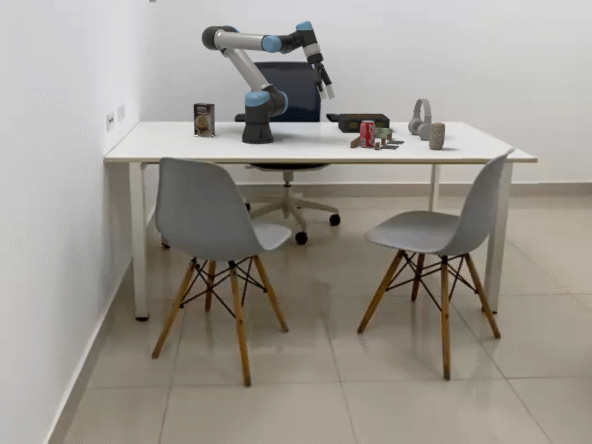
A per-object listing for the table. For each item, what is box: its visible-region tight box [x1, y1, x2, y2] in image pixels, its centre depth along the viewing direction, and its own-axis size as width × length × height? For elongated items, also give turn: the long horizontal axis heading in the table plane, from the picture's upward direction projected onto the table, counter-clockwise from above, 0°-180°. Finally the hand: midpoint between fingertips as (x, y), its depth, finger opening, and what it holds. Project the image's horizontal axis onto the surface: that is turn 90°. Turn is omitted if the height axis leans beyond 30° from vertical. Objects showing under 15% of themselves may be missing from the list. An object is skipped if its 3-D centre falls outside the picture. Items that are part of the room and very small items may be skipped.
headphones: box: [407, 98, 433, 141], centre depth 334 cm, size 20×8×19 cm, turn 7°
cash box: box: [337, 113, 391, 134], centre depth 356 cm, size 25×20×8 cm
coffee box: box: [193, 102, 216, 136], centre depth 332 cm, size 9×6×16 cm
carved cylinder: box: [428, 121, 446, 151], centre depth 305 cm, size 6×8×12 cm
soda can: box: [359, 120, 376, 149], centre depth 308 cm, size 7×7×12 cm
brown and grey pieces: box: [349, 128, 405, 151], centre depth 317 cm, size 20×31×5 cm, turn 160°
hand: (328, 98), depth 311 cm, fingers open, 13 cm apart
